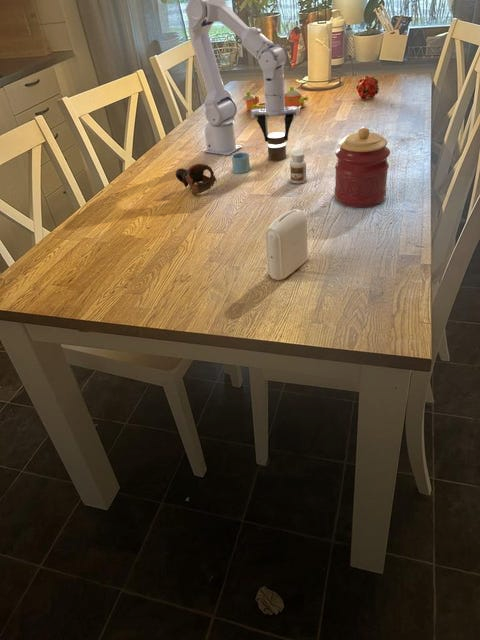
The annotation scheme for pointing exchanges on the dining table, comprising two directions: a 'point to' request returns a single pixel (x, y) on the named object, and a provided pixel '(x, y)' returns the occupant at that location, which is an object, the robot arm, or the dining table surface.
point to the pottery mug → (196, 178)
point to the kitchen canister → (361, 169)
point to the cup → (240, 162)
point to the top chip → (276, 138)
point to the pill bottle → (298, 168)
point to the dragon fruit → (367, 87)
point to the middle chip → (277, 148)
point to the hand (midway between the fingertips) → (276, 140)
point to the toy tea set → (290, 98)
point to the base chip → (277, 156)
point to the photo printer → (287, 244)
